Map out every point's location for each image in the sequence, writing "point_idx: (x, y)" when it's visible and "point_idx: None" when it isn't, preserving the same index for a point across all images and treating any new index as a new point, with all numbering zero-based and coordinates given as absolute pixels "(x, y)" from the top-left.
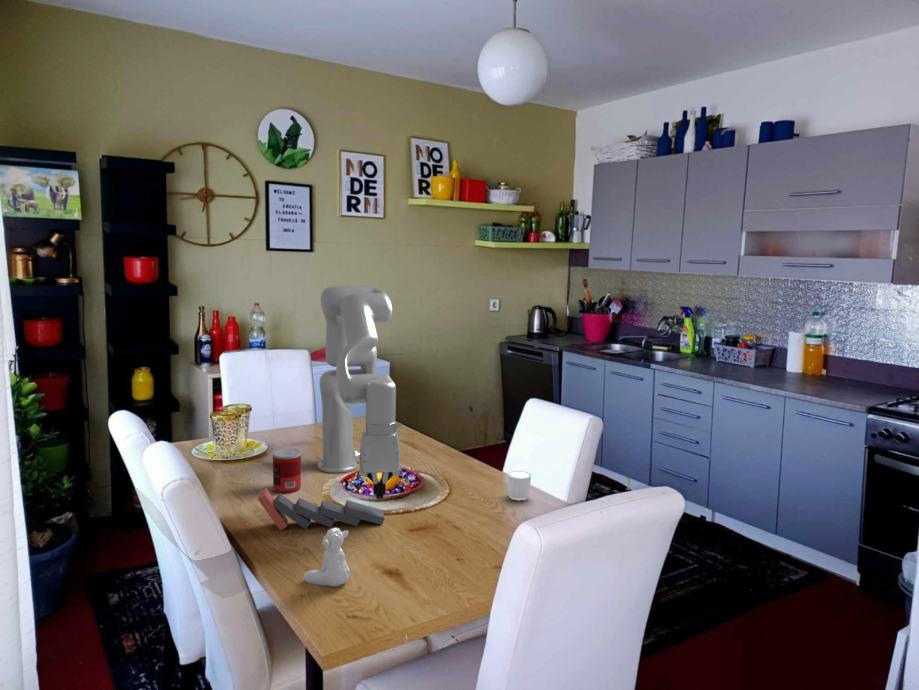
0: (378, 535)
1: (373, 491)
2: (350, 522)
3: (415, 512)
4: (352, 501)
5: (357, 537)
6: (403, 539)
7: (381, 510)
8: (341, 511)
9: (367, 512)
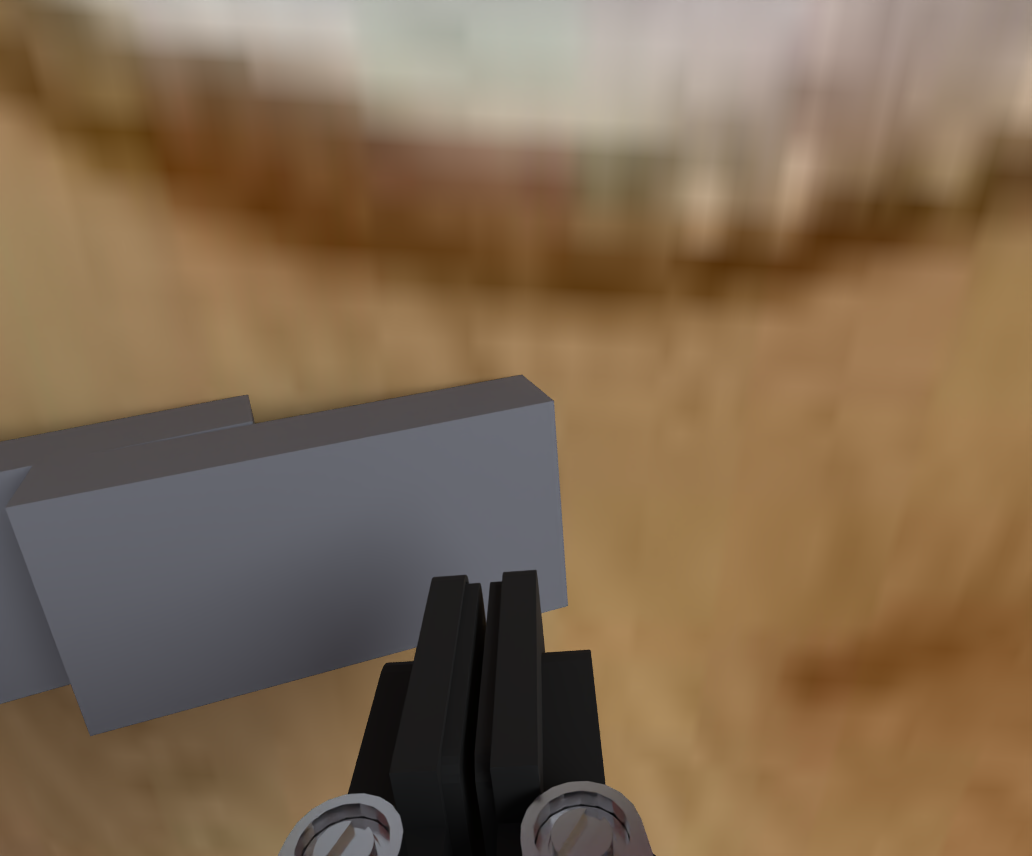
0: None
1: (383, 677)
2: None
3: (968, 252)
4: (103, 489)
5: (325, 771)
6: (709, 822)
7: (534, 422)
8: (43, 638)
9: (361, 649)
